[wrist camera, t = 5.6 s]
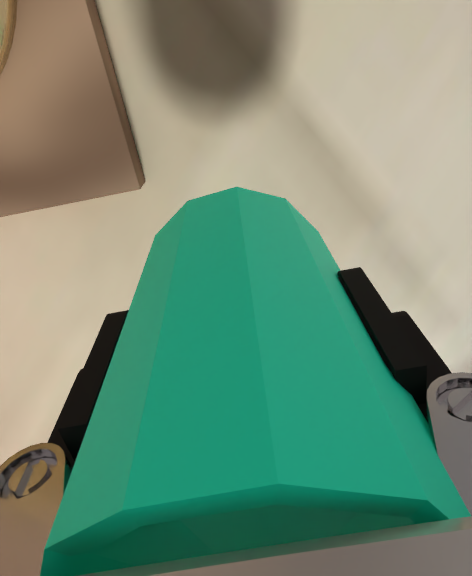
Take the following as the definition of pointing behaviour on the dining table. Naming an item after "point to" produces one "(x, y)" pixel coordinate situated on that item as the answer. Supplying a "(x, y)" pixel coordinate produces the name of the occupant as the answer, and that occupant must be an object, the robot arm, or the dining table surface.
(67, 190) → the walnut board
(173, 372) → the candle
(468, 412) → the robot arm
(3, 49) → the candle holder
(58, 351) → the dining table surface
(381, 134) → the dining table surface
